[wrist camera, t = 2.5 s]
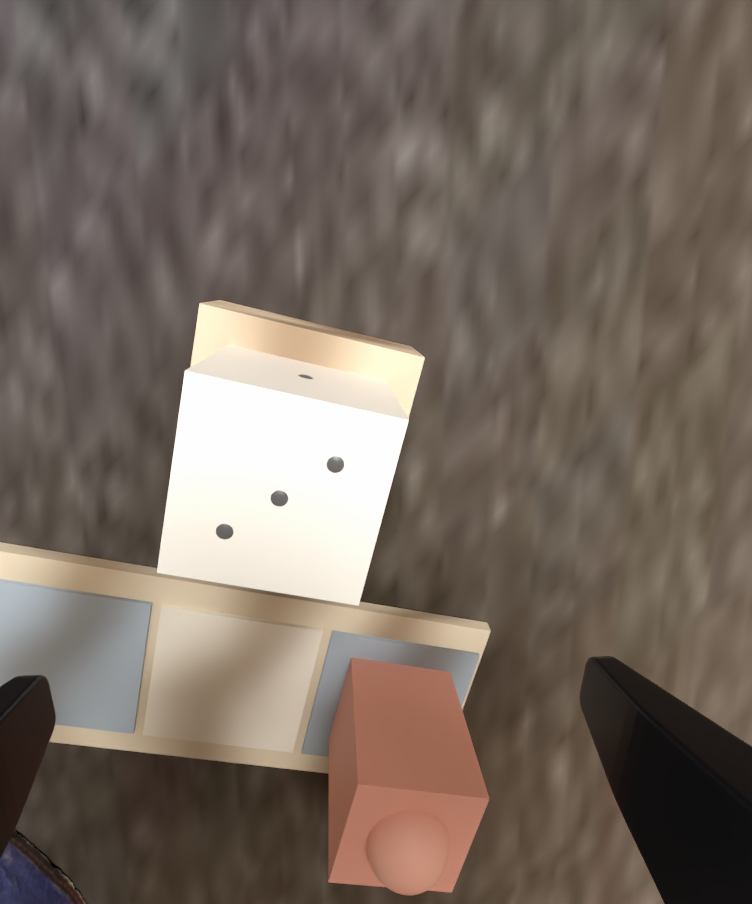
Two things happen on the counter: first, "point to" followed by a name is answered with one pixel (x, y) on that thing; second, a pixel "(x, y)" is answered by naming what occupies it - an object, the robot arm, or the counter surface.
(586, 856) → the counter surface
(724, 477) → the counter surface
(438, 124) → the counter surface
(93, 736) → the board
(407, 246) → the counter surface
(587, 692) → the robot arm
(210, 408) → the die
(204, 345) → the block
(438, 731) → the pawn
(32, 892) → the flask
